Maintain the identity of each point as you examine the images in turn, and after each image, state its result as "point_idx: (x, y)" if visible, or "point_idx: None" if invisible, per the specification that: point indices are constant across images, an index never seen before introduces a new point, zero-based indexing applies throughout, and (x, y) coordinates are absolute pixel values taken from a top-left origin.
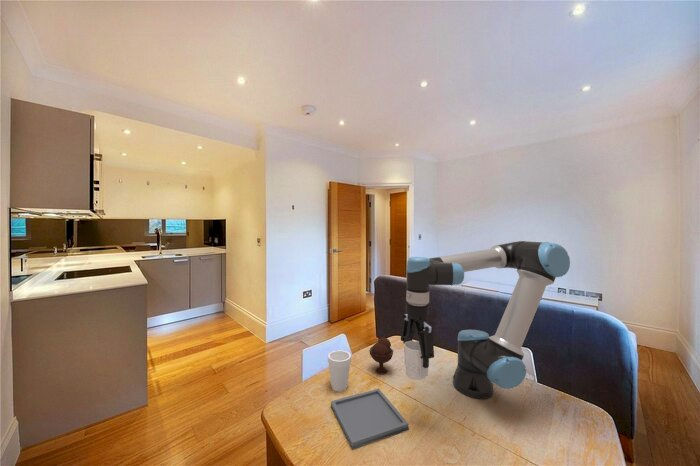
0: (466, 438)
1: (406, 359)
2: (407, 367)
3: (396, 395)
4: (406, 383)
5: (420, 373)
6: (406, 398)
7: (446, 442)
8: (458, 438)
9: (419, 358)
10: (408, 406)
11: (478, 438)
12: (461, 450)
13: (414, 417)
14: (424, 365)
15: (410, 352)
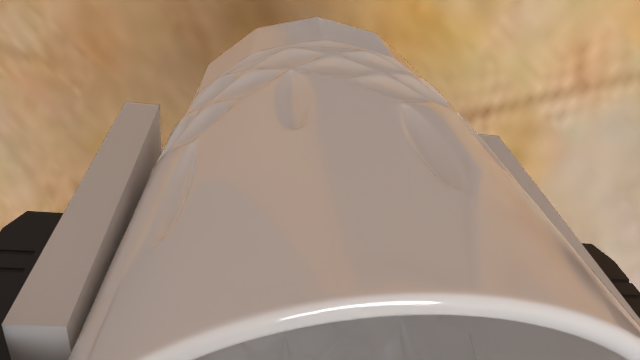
0: (68, 146)
1: (375, 98)
2: (335, 54)
3: (517, 55)
4: (544, 179)
5: (126, 126)
6: (457, 90)
7: (77, 36)
8: (81, 113)
9: (103, 285)
10: (400, 51)
11: (50, 192)
12: (6, 64)
13: (311, 16)
14: (23, 241)
15: (252, 240)
